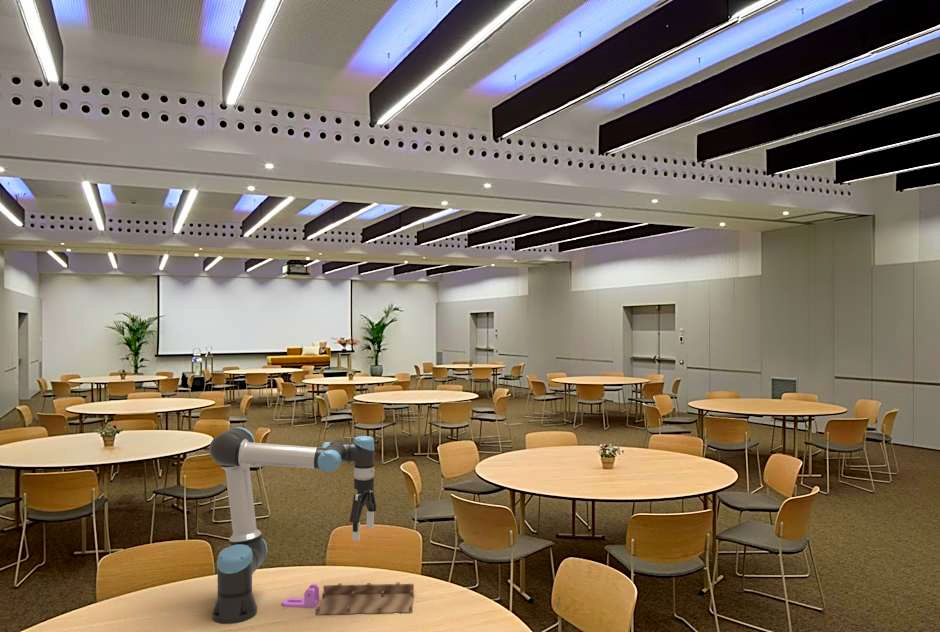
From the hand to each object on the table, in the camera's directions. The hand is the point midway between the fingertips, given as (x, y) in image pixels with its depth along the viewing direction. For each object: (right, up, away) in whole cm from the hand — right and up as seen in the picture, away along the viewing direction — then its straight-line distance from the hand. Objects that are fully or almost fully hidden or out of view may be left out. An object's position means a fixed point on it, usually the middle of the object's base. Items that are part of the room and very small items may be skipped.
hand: (363, 534), depth 248 cm
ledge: (+2, -25, -6) cm, 25 cm away
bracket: (-23, -25, -5) cm, 34 cm away
